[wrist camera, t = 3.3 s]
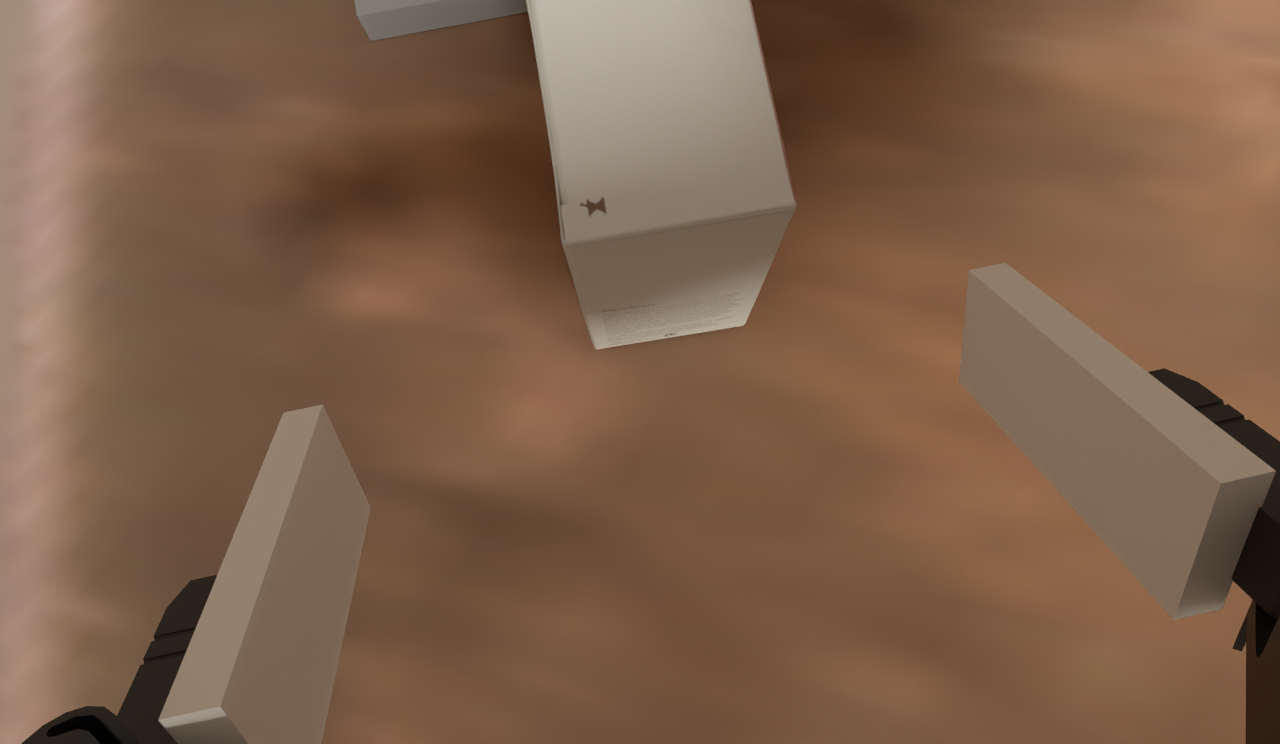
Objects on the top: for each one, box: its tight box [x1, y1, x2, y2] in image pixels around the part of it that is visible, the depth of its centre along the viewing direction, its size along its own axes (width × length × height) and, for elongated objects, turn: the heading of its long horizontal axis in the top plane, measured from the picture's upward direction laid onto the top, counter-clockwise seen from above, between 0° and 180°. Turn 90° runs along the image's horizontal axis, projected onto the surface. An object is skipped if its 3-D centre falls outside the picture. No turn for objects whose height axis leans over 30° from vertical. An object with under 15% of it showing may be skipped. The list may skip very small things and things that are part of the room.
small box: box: [526, 0, 798, 349], centre depth 24 cm, size 8×6×10 cm
